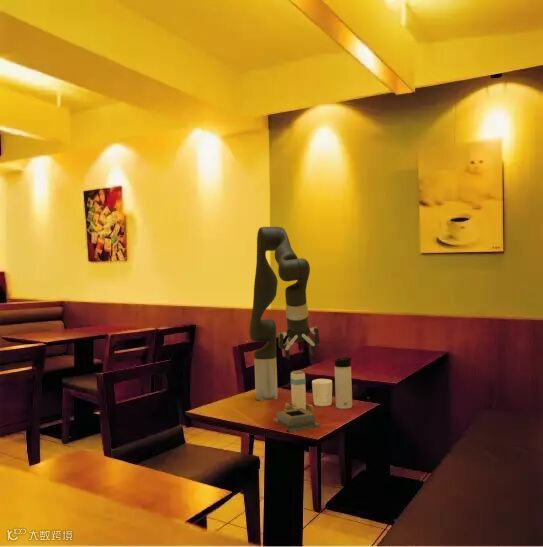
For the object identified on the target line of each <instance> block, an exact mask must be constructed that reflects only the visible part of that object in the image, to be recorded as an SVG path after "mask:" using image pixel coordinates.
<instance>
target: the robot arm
mask: <svg viewBox="0 0 543 547" xmlns="http://www.w3.org/2000/svg"><path fill="white" fill-rule="evenodd" d="M256 235H257V236H256V264H255V265H256V267H255V275H254V283H253V299H252V301H253V302H252V311H251V317H250V323H249V338H250V340H251V341H252V342H253V343H263V342H266V344H264V346H262V347H261V348H259V349H256V350H255V351H254V353H253V360H254V361H253V362H254V386H255V387H254V388H255V400H256V401H262V402H263V401H270V400H277V399H278V374H277V373H278V371H277V340H278V347H279V349H280V350H284V356H285V358H286V359H287V360H291V357H290V347H291V346H292V345H293V344H294V343H296V344H297V343H301V342H305V341H306V342H307V343H309V354H310V355H311V356H314V354H315V352H316V348H315V346H316V345H317V344H320V342H321V341H320V332H319V328H318V326H317V325H313V326H312V327H310V326H309V325H310V324H309V323H310V322H309V310H308V304H307V286H308V282H309V277H310V273H311V272H310V270H311V268H310V263H309V261H308V260H307V259H306V258H302V257H301V258H298V255H297V254H296V252H295V251H294V250H293V249H292V246H291V243H290V239H289V236H288V234H287V232H286V229H285V228H283V227H282V226H260V227H259V228H258V230H257V233H256ZM267 251H268V252H274V260H275V261H276V263H277V265H278V267H277V268H278V270H277V271H278V276H279V277H277V275H276V273H275V272H274V270H273V269H272V267H271V265H270V264H269V261H268V260H267V255H266V254H267ZM278 278H279V279H280V280H281V281H283V282H292V281H293V282H294V281H296V282H294V283H293V284H291V285H288V286H286V288H285V290H284V294H285V316H286V317H285V318H286V331H281V330H280V331H278V333H277V325H276V321H275V320H274V319H273V318H272V319H271V318H267V319H265V318H264V319H262V316H263V314H264V313H265V312H266V311H267V309H268V308H269V307H270V305H271V304H272V303H273V301H274V300H275V299H276V296H277V294H278V293H277V290H278V284H279V283H278V282H279V281H278ZM310 333H312V334H313V338H314V339H312V338H311V337H310V336H309V335H310ZM277 334H278V336H277ZM286 336H287V339H286V341H285V343H284V339H285V338H286ZM277 337H278V338H277Z"/></svg>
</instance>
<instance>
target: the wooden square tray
mask: <svg viewBox="0 0 543 547" xmlns="http://www.w3.org/2000/svg"><path fill="white" fill-rule="evenodd" d="M292 409H298V408H296V407H294V406H292V402H289V403H287V402H285V403H284V408H283V411H286V410H292ZM306 411H308V412H310V413H313V412H315V410H314V405H312V404H310V403H308V402H306Z"/></svg>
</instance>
